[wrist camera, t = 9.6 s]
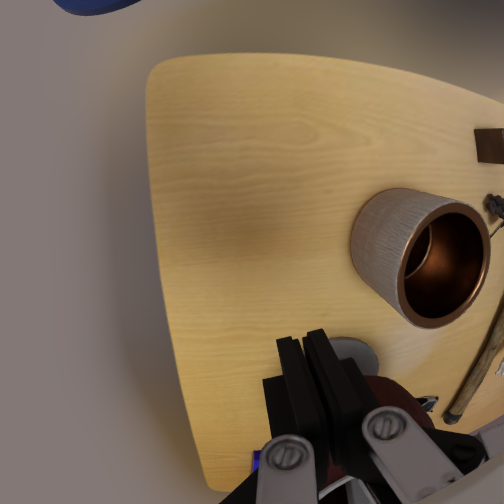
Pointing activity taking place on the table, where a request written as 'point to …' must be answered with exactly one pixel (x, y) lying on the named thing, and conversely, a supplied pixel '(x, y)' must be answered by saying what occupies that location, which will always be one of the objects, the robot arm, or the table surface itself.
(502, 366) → the white elongated piece
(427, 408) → the graphics card
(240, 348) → the table surface
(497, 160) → the block
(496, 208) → the figurine
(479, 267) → the planter
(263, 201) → the table surface
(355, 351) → the mate gourd
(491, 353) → the hammer
